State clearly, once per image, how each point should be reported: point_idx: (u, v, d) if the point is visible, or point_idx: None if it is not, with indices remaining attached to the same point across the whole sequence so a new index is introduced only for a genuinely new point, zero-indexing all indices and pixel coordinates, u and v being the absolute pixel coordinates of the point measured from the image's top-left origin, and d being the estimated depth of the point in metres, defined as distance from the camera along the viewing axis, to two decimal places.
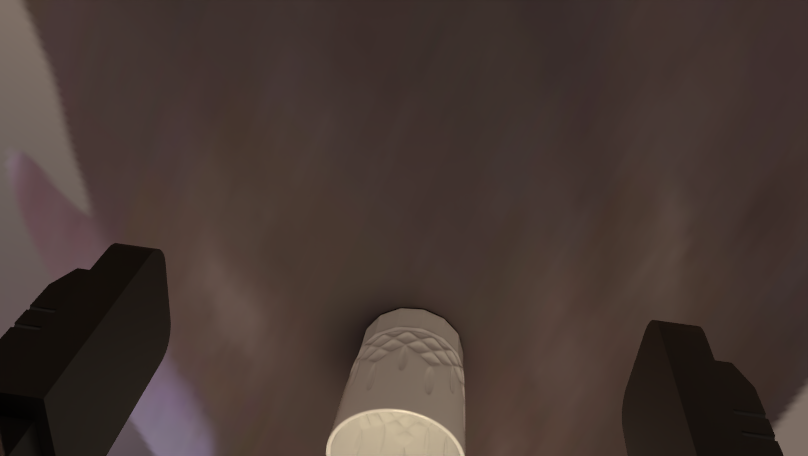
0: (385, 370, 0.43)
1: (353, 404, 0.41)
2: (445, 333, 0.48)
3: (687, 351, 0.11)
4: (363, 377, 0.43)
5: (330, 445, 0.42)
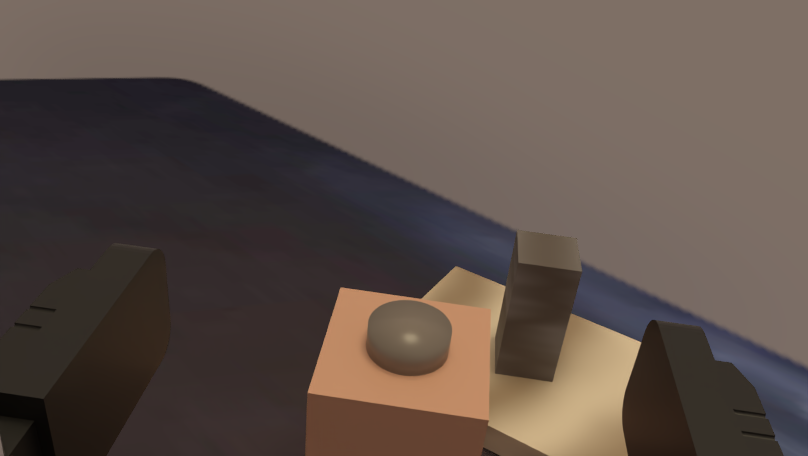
0: None
1: None
2: None
3: (687, 351, 0.11)
4: None
5: None
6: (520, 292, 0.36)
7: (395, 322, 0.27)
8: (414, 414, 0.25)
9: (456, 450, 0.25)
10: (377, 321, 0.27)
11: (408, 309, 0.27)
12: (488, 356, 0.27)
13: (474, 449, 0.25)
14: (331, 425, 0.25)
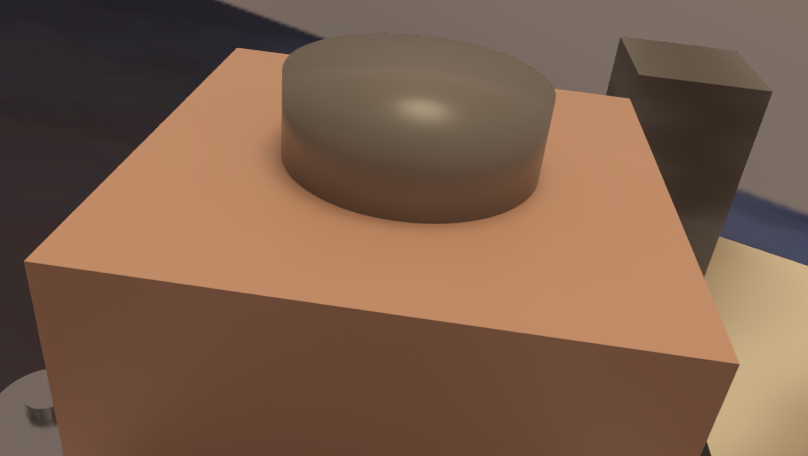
0: None
1: None
2: None
3: None
4: None
5: None
6: None
7: (373, 67, 0.08)
8: (440, 344, 0.06)
9: None
10: (315, 63, 0.08)
11: (413, 48, 0.09)
12: (660, 185, 0.09)
13: None
14: (136, 391, 0.07)
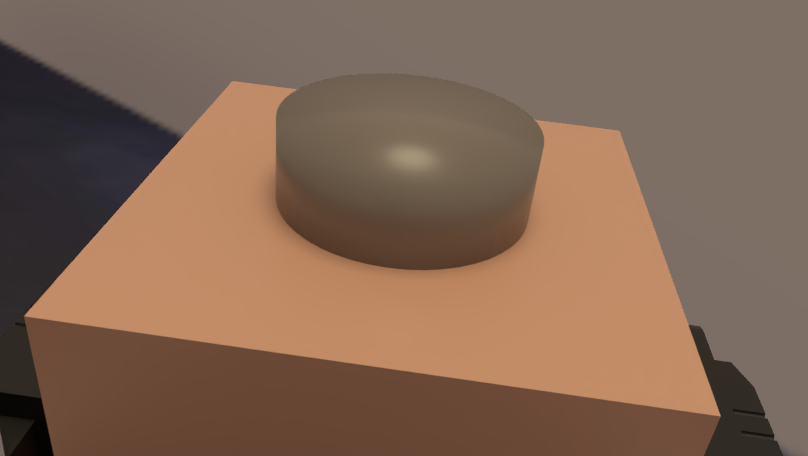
0: None
1: None
2: None
3: None
4: None
5: None
6: None
7: (365, 113, 0.08)
8: (430, 396, 0.06)
9: None
10: (309, 109, 0.08)
11: (405, 90, 0.09)
12: (648, 225, 0.09)
13: None
14: (134, 438, 0.07)
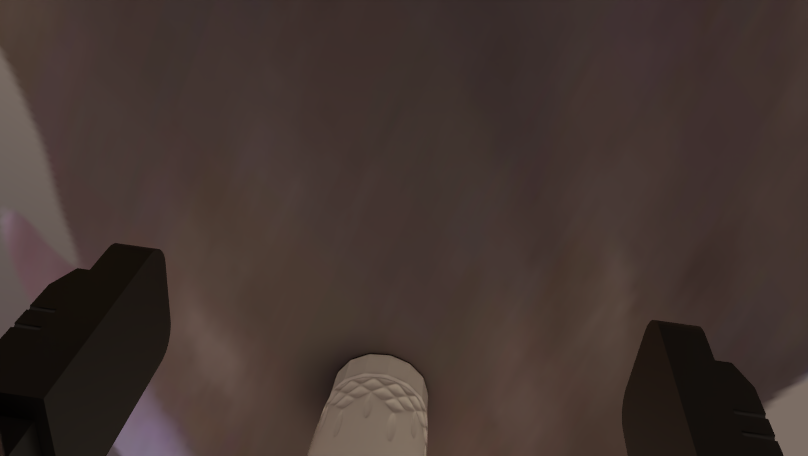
0: (350, 417, 0.46)
1: (320, 450, 0.45)
2: (410, 378, 0.51)
3: (687, 351, 0.11)
4: (331, 423, 0.47)
5: None
6: None
7: None
8: None
9: None
10: None
11: None
12: None
13: None
14: None
